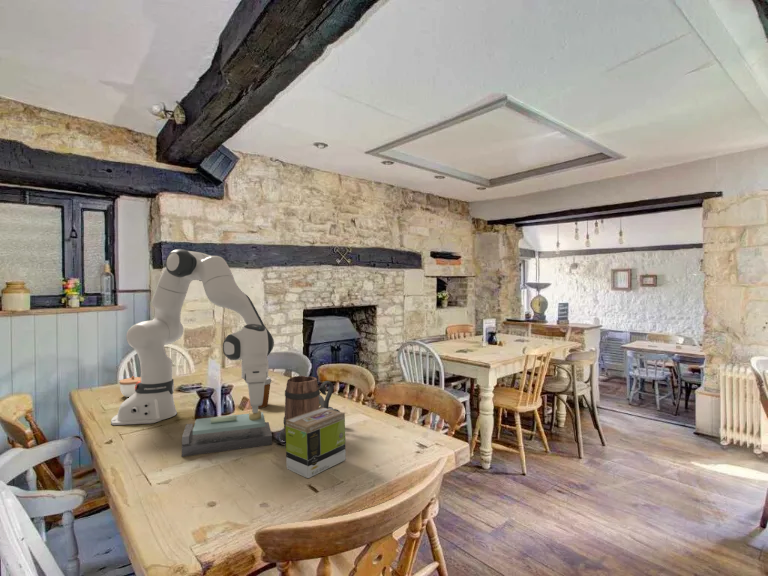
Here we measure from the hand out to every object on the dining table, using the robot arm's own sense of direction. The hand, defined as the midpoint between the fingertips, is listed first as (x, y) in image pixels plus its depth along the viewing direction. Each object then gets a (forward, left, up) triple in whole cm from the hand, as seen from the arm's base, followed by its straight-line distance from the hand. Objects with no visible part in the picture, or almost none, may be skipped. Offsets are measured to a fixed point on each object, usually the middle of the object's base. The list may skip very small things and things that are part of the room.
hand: (255, 411), depth 138 cm
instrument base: (-8, 0, -9) cm, 13 cm away
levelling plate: (-8, 0, -3) cm, 9 cm away
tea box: (+16, -27, -10) cm, 33 cm away
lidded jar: (-52, +76, -10) cm, 93 cm away
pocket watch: (+28, +21, -10) cm, 36 cm away
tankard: (+19, -1, -10) cm, 21 cm away
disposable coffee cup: (+4, +39, -10) cm, 40 cm away
